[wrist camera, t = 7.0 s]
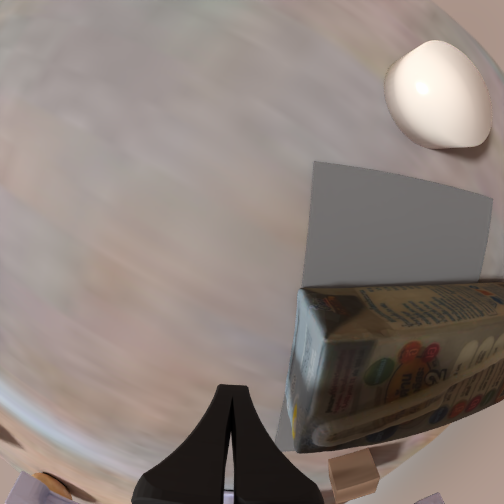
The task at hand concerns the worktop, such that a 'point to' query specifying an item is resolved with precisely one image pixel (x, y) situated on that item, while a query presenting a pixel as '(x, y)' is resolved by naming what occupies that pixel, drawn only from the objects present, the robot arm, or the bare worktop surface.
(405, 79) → the cream egg shape
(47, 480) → the onion
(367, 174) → the mat
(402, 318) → the beverage carton
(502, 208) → the worktop surface
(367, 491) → the walnut block
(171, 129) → the worktop surface
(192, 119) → the worktop surface
